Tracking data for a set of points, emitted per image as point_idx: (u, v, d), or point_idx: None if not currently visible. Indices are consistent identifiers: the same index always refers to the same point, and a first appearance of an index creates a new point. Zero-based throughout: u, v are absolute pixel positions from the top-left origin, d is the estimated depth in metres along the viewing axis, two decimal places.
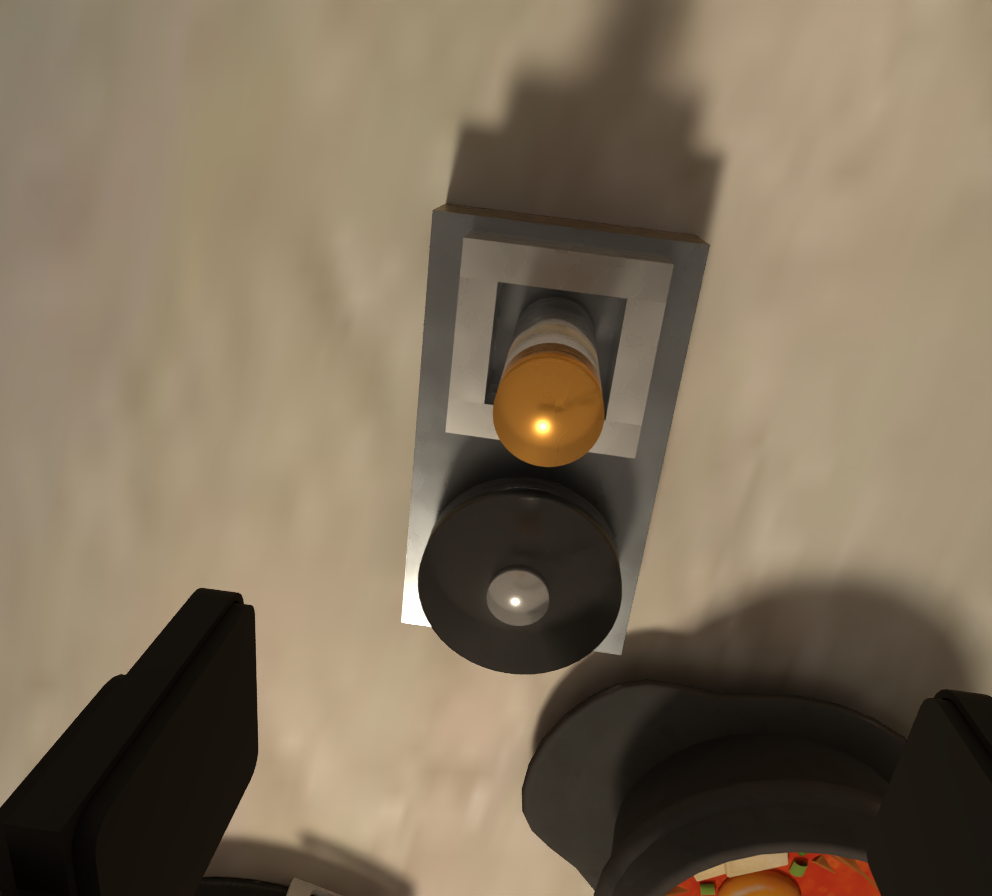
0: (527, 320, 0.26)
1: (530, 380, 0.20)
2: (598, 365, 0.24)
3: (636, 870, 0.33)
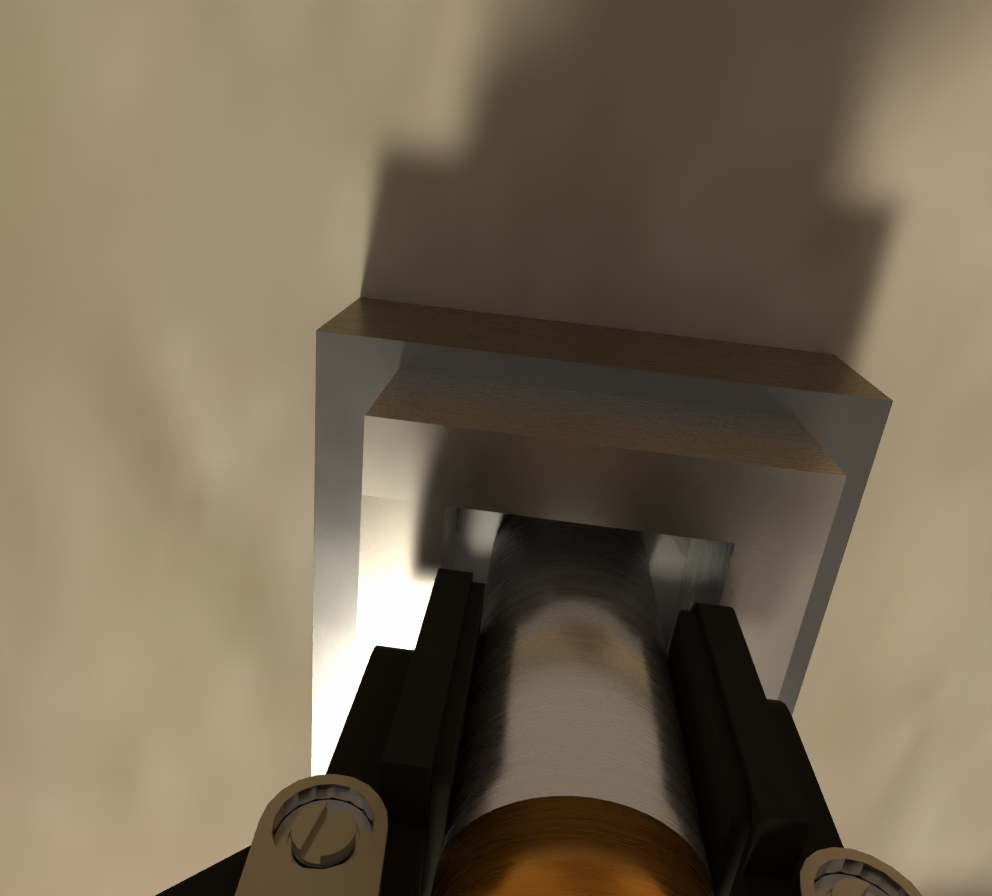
0: (512, 588, 0.12)
1: None
2: (685, 751, 0.10)
3: None
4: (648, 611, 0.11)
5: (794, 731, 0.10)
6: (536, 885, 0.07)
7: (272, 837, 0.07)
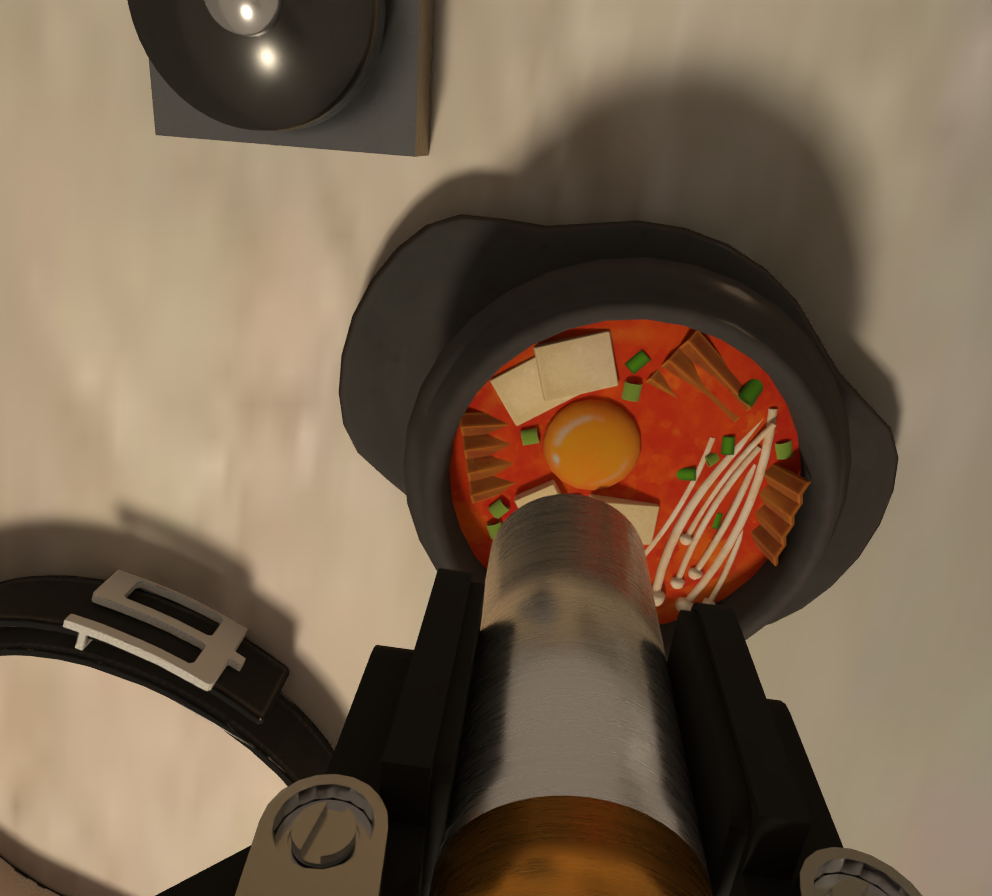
0: (510, 587, 0.12)
1: None
2: None
3: (436, 399, 0.27)
4: (646, 611, 0.11)
5: (794, 732, 0.10)
6: (533, 885, 0.07)
7: (272, 837, 0.07)
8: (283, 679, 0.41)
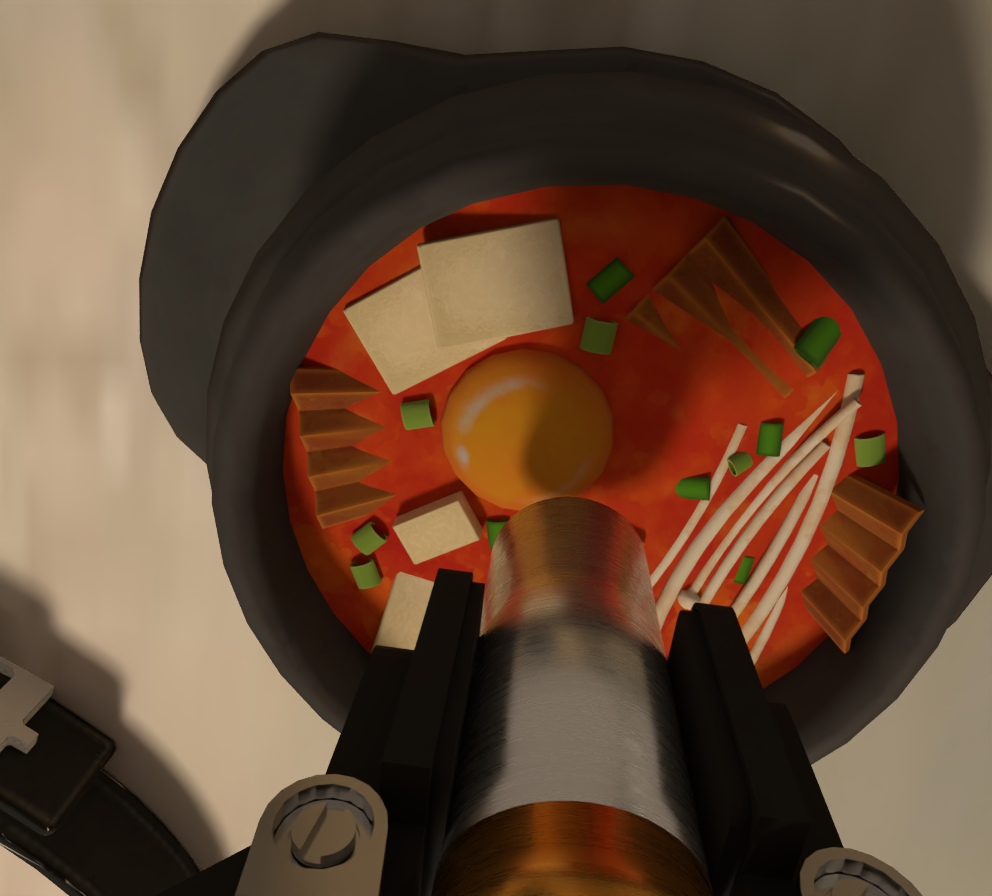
0: (511, 591, 0.12)
1: None
2: None
3: (239, 341, 0.15)
4: (647, 614, 0.11)
5: (794, 731, 0.10)
6: (535, 891, 0.07)
7: (272, 837, 0.07)
8: (104, 760, 0.29)
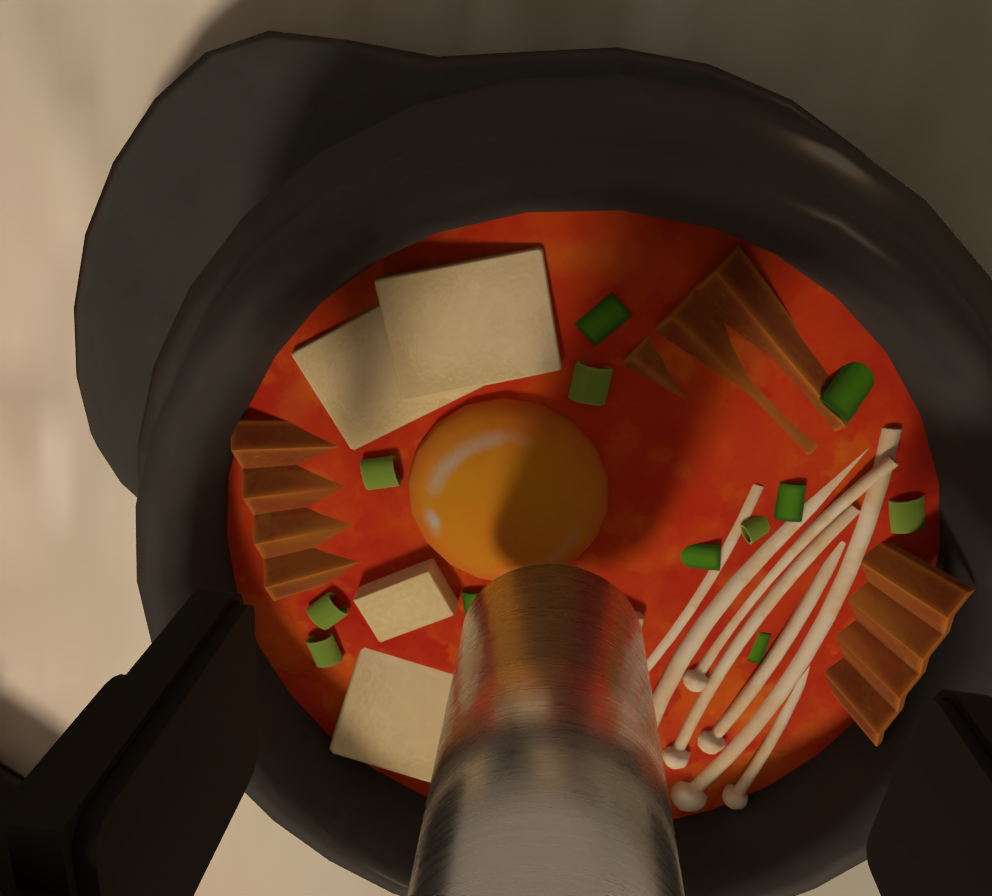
0: (478, 695, 0.10)
1: None
2: None
3: (168, 391, 0.13)
4: (642, 724, 0.09)
5: None
6: None
7: None
8: None
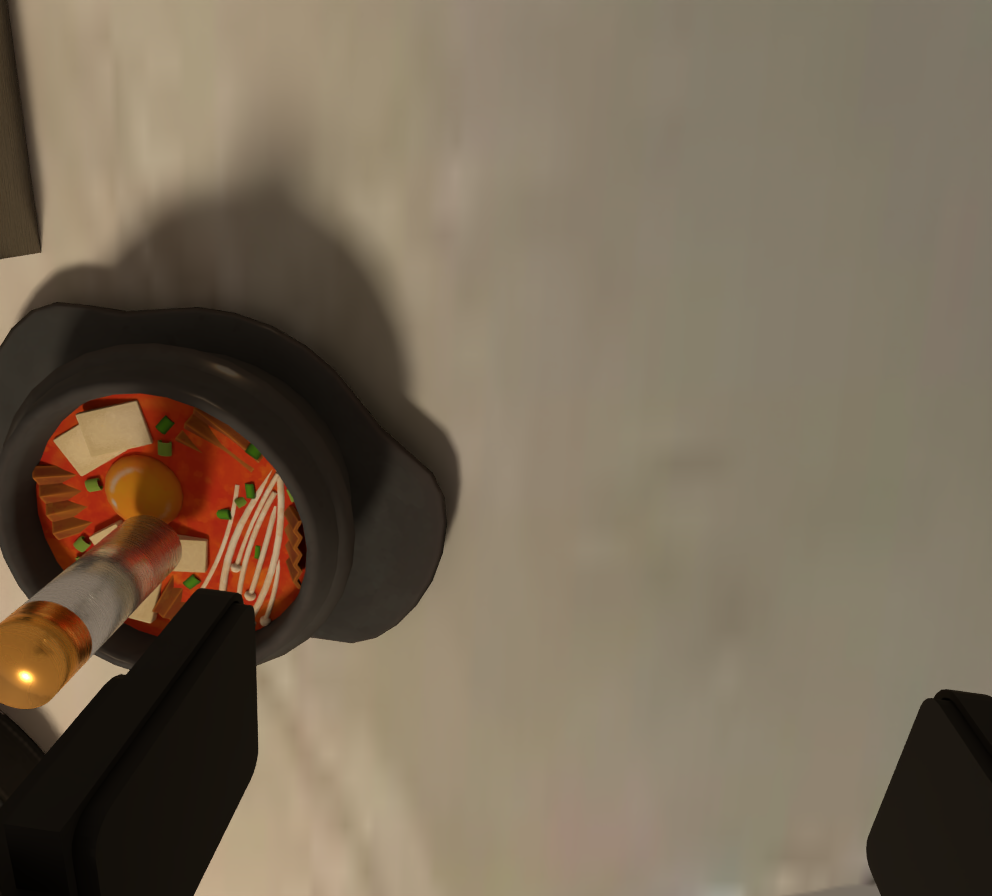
0: (87, 551, 0.31)
1: None
2: (117, 600, 0.28)
3: None
4: (136, 558, 0.30)
5: None
6: (12, 617, 0.26)
7: None
8: None
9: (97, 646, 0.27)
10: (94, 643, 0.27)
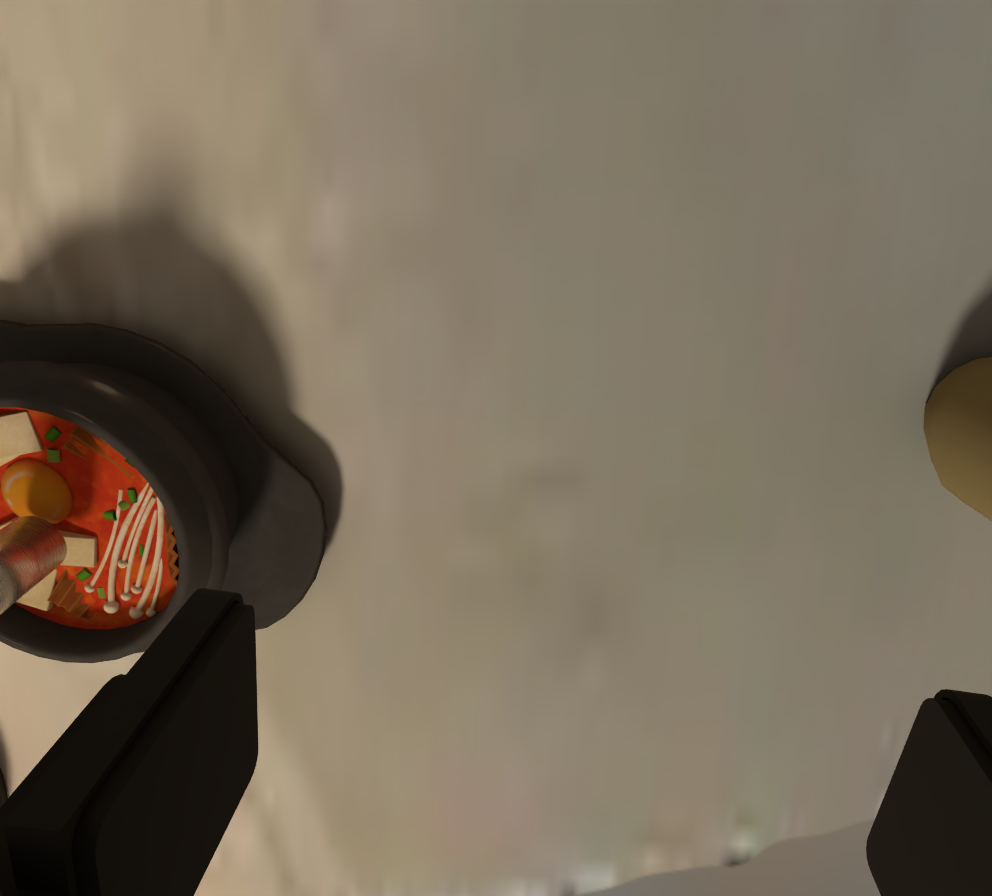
0: None
1: None
2: None
3: None
4: (15, 556, 0.34)
5: None
6: None
7: None
8: None
9: None
10: None
